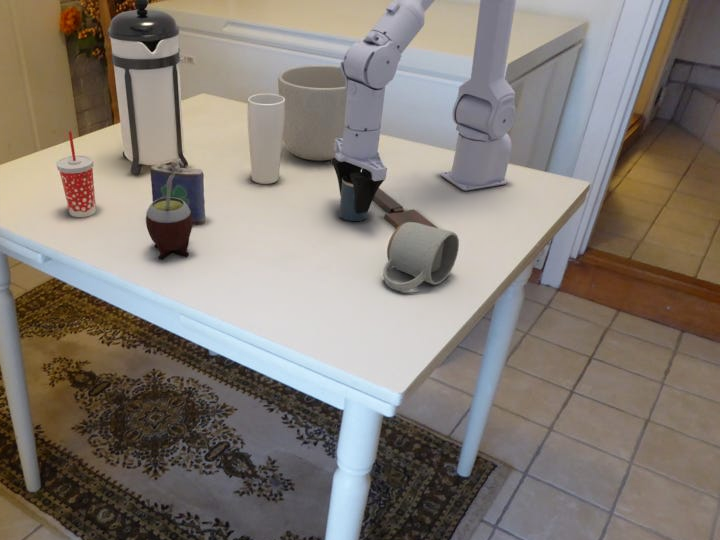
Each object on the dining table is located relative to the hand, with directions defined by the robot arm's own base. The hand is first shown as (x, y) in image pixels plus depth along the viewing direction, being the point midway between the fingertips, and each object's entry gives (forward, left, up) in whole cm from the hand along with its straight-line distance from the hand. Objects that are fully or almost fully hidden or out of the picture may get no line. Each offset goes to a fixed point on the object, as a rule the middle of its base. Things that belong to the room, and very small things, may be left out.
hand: (354, 205), depth 116 cm
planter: (-7, -29, -2) cm, 30 cm away
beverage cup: (+43, -18, -2) cm, 47 cm away
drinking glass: (+8, -20, -2) cm, 22 cm away
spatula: (-8, -2, -2) cm, 8 cm away
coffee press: (+26, -37, -2) cm, 46 cm away
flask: (+28, -9, -2) cm, 30 cm away
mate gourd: (+32, +2, -2) cm, 33 cm away
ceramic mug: (+1, +22, -2) cm, 22 cm away
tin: (0, 0, -2) cm, 2 cm away
